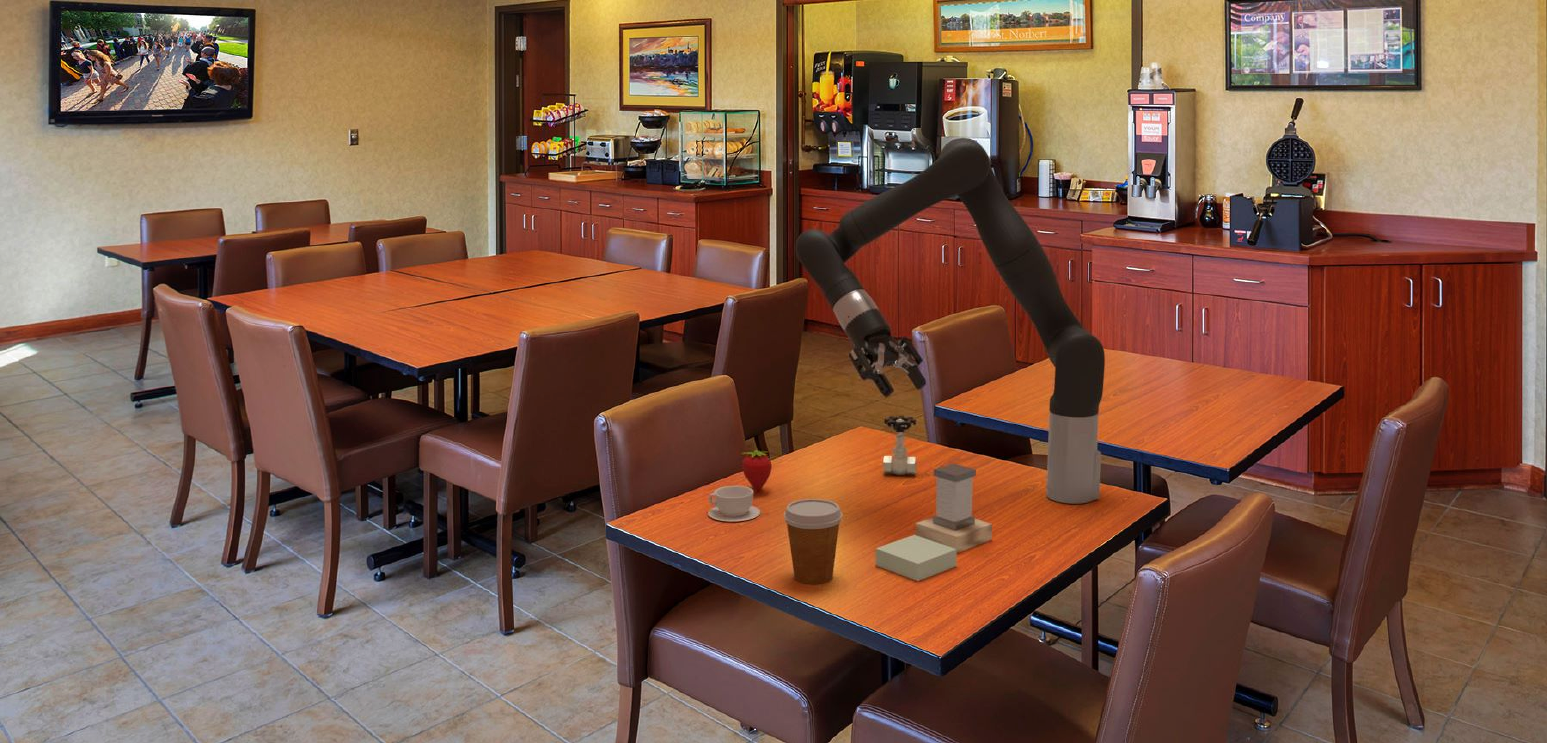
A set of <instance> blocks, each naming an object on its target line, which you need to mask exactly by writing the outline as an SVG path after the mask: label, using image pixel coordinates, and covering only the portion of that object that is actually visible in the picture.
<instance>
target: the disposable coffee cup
mask: <svg viewBox="0 0 1547 743" xmlns="http://www.w3.org/2000/svg"><path fill="white" fill-rule="evenodd" d="M783 518H784V519H785V520H784V521H785V522H786V526H787V528H786V529H787V534H788V541H789V547H790V555H791V560H792V562H791V563H792V570H793V576H794V579H795V580H796V581H798V582H799V583H803V584H807V585H808V584H809V585H819V584H825V583H827V582H831V580H832V579H833V578H834V577H833V576H834V568H835V567H834V566H835V561H836V553H837V544H838V537H839V536H838V535H839V528H840V523H841V520H842V518H843V512H842V511H841V508H840V505H839V504H838V503H836V502H834V501H832V500H827V499H820V498H806V499H799V500H795V501H792V502H790V503H789V504H788V505H787V506H786V509H785V511H784V513H783Z"/></svg>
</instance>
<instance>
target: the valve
mask: <svg viewBox="0 0 1547 743" xmlns="http://www.w3.org/2000/svg"><path fill="white" fill-rule="evenodd" d="M883 424H885V425H886V426H887V427H890V428H891V427H892V428H893V430H894V431H895V432H896V433H897V435H895V438H894V439H895V441H894V443H896V444H895V446H894V447H892V454H893V456H892V455H884V456H883V461H882V462H883V463H882V464H883V465H882V466H883V467H882V469H883V470H882V471H883V473H884V474H889V475H890V474H891V475H892V474H894V475H897V476H904V475H916V473H917V457H916V456H906V455H907V454H908V448H907V447H906V446H905V440H906V439H905V438H906V437H905V435H903V433H905V432H906V431H908V430H909V429H911V427H912V425H913V426H916V425H917V419H915V418H914V417H913V416H907V417H905V416H904V415H903V414H902V415H899V416H894V415H890V416H889V417H888V418H887V417H886V418H883Z"/></svg>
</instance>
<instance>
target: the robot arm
mask: <svg viewBox="0 0 1547 743" xmlns="http://www.w3.org/2000/svg"><path fill="white" fill-rule="evenodd" d="M955 196H957V197H958V198H959V199H960V201H961V202H962V204H963V205H964V207H965V208H966V210H967V211H968V213H969V214H970V216H971V218H972V221H973V223H974V224H975V227H976V229H977V232H978V234H979V237H980V239H981V241H982V243H983V246H984V248H985V250H986V252H987V255H988V256H989V258H990V260H991V262H992V264H993V266H994V268H996V271H997V272H998V274H999V276H1000V277H1001V279H1002V281H1003V283H1004V284H1005V285H1006V287H1007V288H1008V290H1009V291H1010V292H1011V294H1012V295H1013V297H1014V298H1015V300H1016V301H1017V302H1018V303H1019V305H1020V306H1021V308H1022V309H1023V310H1024V311H1025V313H1026V314H1027V315H1028V317H1029V318H1030V319H1031V321H1032V323H1033V325H1034V328H1035V329H1036V331H1037V333H1038V336H1039V337H1040V340H1041V342H1042V344H1043V346H1044V349H1045V351H1046V353H1047V356H1048V358H1049V361H1050V362H1051V364H1052V365H1053V366H1054V367H1055V368H1054V370H1055V371H1054V384H1053V387H1054V388H1053V392H1052V395H1051V396H1050V398H1049V412H1048V413H1049V414H1048V415H1049V416H1048V417H1049V418H1048V440H1047V441H1048V442H1047V443H1048V444H1047V468H1046V469H1047V470H1046V471H1047V473H1046V485H1045V486H1046V497H1047V498H1048V499H1050V500H1051V501H1054V502H1057V503H1063V504H1069V505H1070V504H1071V505H1072V504H1075V505H1076V504H1077V505H1079V504H1080V505H1081V504H1086V503H1090V502H1093V501H1095V500H1099V499H1100V489H1101V488H1100V486H1101V485H1100V484H1101V464H1102V459H1101V458H1102V452H1101V451H1100V450H1098V438H1099V436H1098V434H1099V433H1098V432H1099V412H1100V404H1101V401H1102V399H1103V393H1104V382H1105V380H1104V379H1105V370H1106V369H1105V366H1106V362H1105V361H1106V356H1105V355H1106V354H1105V350H1104V346H1103V344H1102V343H1101V340H1099V338H1097V337H1096V336H1095V335H1093V334H1092V333H1091V332H1090V331H1088V330H1087V329H1086V328H1085V327H1084V325H1083V324H1082V323H1081V322H1080V321H1079V319H1078V318H1077V317H1076V315H1075V314H1074V312H1073V311H1072V310H1071V308H1070V306H1069V305H1068V303H1067V301H1066V300H1065V297H1064V296H1063V293H1062V291H1061V288H1060V285H1059V282H1058V279H1057V276H1056V273H1055V271H1054V268H1053V265H1052V263H1051V261H1050V259H1049V257H1048V255H1047V254H1046V252H1045V250H1044V248H1043V247H1042V245H1041V243H1040V241H1039V240H1038V238H1037V237H1036V235H1035V233H1033V231H1032V229H1031V228H1030V226H1029V224H1027V222H1026V221H1025V220H1024V218H1023V217H1022V215H1021V214H1020V213H1019V212H1018V210H1017V209H1016V207H1015V206H1014V205H1013V204H1012V203H1011V201H1010V200H1009V199H1008V197H1007V196H1006V195H1005V192H1004V191H1003V190H1002V187H1001V185H1000V183H999V181H998V179H997V177H996V175H995V173H994V171H993V168H992V166H991V161H990V157H989V155H988V153H987V151H986V150H985V148H984V147H983V146H982V145H981V143H979V142H978V141H976V140H975V139H973V138H972V139H971V138H969V137H968V138H967V137H957V138H954V139H952V140H950V141H948V142H947V143H945V145H944V146H943V148H942V149H941V151H940V153H939V155H938V158H937V159H936V160H935V161H933V163H931V164H929V166H928V167H926V168H925V169H924V170H923V171H921V172H920V173H918V174H916V175H914V177H912V178H909V179H908V180H907V181H905V182H903V183H901V184H899V185H897V186H894V187H893V188H890V189H888V190H885V191H883V192H881V193H880V194H878V195H876V196H873V197H872V198H870V199H867V200H866V201H865V202H862V203H861V204H860V205H858V206H856V207H854V208H853V209H851V210H850V211H847V212H846V213H845V214H843V216H841V217H840V219H839V223H838V224H839V226H838V227H837V228H835V229H834V230H832V232H830V233H829V234H828V233H826V232H824V231H823V230H820V229H817V228H813V229H812V228H811V229H807V230H804V231H803V232H802V233H800V235H799V236H798V238H797V239H796V240H795V241H796V242H795V253H796V254H795V255H796V258H797V259H798V261H799V263H801V265H802V266H803V267H804V269H805V271H806V272H807V273H808V274H809V276H810V277H811V279H813V281H814V283H816V285H817V286H818V287H819V289H820V290H821V292H822V294H823V296H824V298H825V300H826V302H827V303H828V305H829V306H830V308H831V309H832V311H833V313H834V315H835V317H836V319H837V321H838V323H839V324H840V327H841V328H842V329H843V331H844V333H845V334H846V336H847V338H848V339H849V341H850V343H851V344H852V345H853V348H852V350H851V351H850V352H849V354H848V358H849V359H850V361H851V362H852V364H853V366H854V368H855V370H856V371H857V373H858V375H859V377H860V379H862V380H863V381H866V380H867V379H868V380H869V381H871V382H873V383H874V384H875V386H876V387H877V389H878V390H879V392H880V394H882V396H884V398H889V397H890V396H891V395H892V394H893V393H894V391H895V390H894V387H893V385H892V384H891V383H890V381H889V380H888V378H887V376H886V374H885V373H883V368H885V367H894V368H896V369H901V370H902V371H904V372H905V373H907V376H908V378H909V380H910V381H911V382H912V384H913V386H914V387H915V389H916V390H917V391H918V390H922V389H923V388H924V387H925V386H926V385H927V381H926V379H925V377H924V375H923V374H922V372H921V370H920V368H919V365H921V363H923V358H922V356H921V355H920V354H919V352H918V351H917V350H916V348H915V346H914V345H913V343H911V341H910V340H909V338H908V337H907V336H902V338H900V339H899V340H896V339H894V338H893V336H892V334H891V330H892V328H891V326H890V324H889V323H888V321H887V319H885V317H884V315H883V313H882V312H881V310H880V309H879V307H878V305H877V304H876V302H875V301H874V300H873V298H872V297H871V296H870V294H868V293H867V291H866V290H865V288H864V286H863V285H862V283H861V282H860V280H859V279H858V277H857V276H856V275H855V273H854V272H853V271H852V270H851V269H850V268H849V267H848V266H847V264H845V263H847V262H848V261H849V260H850V259H851V258H853V256H855V254H857V253H858V251H859V250H861V248H863V247H865V246H866V245H869V244H870V243H871V242H874V241H876V240H877V239H879V238H880V237H882V236H883V235H885V234H887V233H888V232H890V231H892V230H893V229H895V228H897V227H898V226H899V225H901V224H903V223H905V222H906V221H908V220H909V219H910V218H912V217H914V216H916V215H918V214H919V213H921V212H923V211H925V210H926V209H928V208H931V207H933V206H934V205H937V204H938V203H941V202H943V201H944V200H947V199H950V198H953V197H955ZM899 356H900V358H899ZM913 358H914V359H913ZM906 363H907V364H908V365H907V364H906Z"/></svg>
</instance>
